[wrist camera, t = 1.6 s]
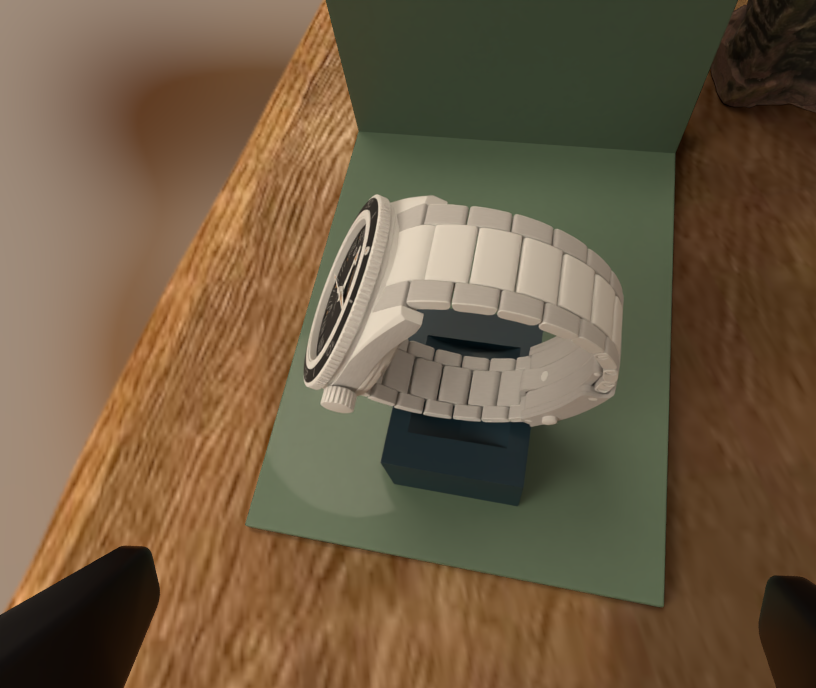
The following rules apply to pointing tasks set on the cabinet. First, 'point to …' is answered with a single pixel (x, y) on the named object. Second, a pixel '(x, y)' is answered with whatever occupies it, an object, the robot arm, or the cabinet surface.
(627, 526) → the green display stand
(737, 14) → the statue
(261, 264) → the cabinet surface
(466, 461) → the watch
